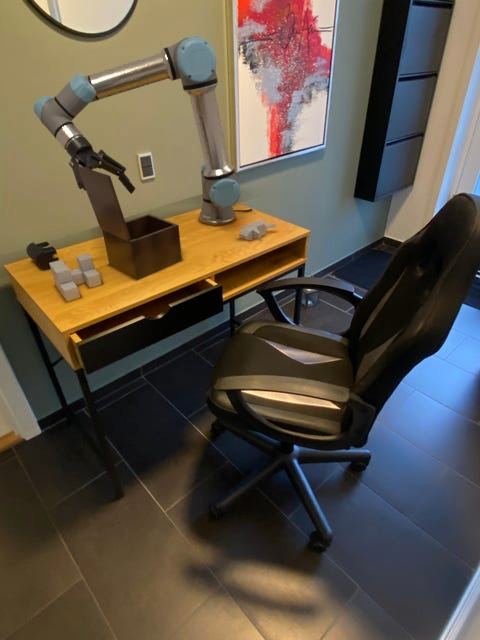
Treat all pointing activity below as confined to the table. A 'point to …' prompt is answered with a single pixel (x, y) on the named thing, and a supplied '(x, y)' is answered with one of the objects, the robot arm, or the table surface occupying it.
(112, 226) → the chest lid
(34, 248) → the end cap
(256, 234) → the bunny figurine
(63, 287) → the grey cube cluster
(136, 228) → the chest
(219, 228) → the table surface
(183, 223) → the table surface
